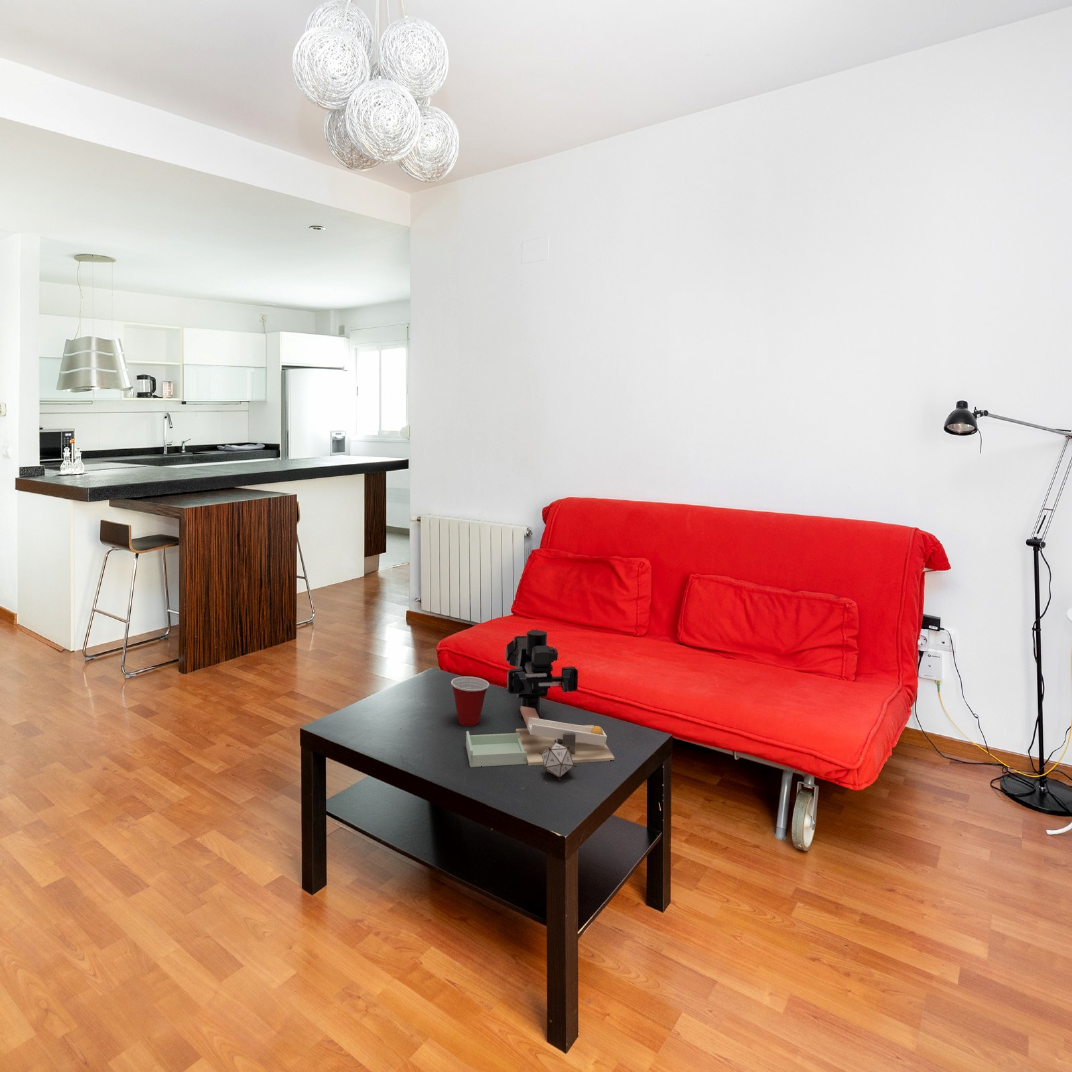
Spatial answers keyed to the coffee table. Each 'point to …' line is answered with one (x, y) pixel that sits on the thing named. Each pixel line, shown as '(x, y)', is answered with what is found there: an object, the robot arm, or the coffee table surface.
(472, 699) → the plastic cup
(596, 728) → the ball
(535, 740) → the lever stand
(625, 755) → the coffee table surface
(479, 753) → the tray
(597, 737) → the lever
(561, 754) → the game die
